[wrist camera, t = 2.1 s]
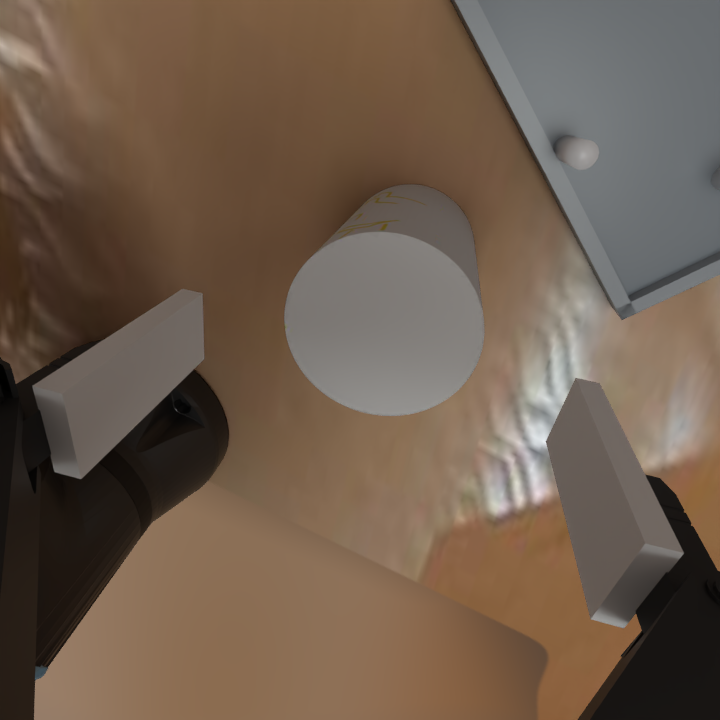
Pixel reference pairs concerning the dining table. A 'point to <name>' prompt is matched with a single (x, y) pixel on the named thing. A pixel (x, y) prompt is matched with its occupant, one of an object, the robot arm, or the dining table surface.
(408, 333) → the cup
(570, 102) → the tray
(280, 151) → the dining table surface
